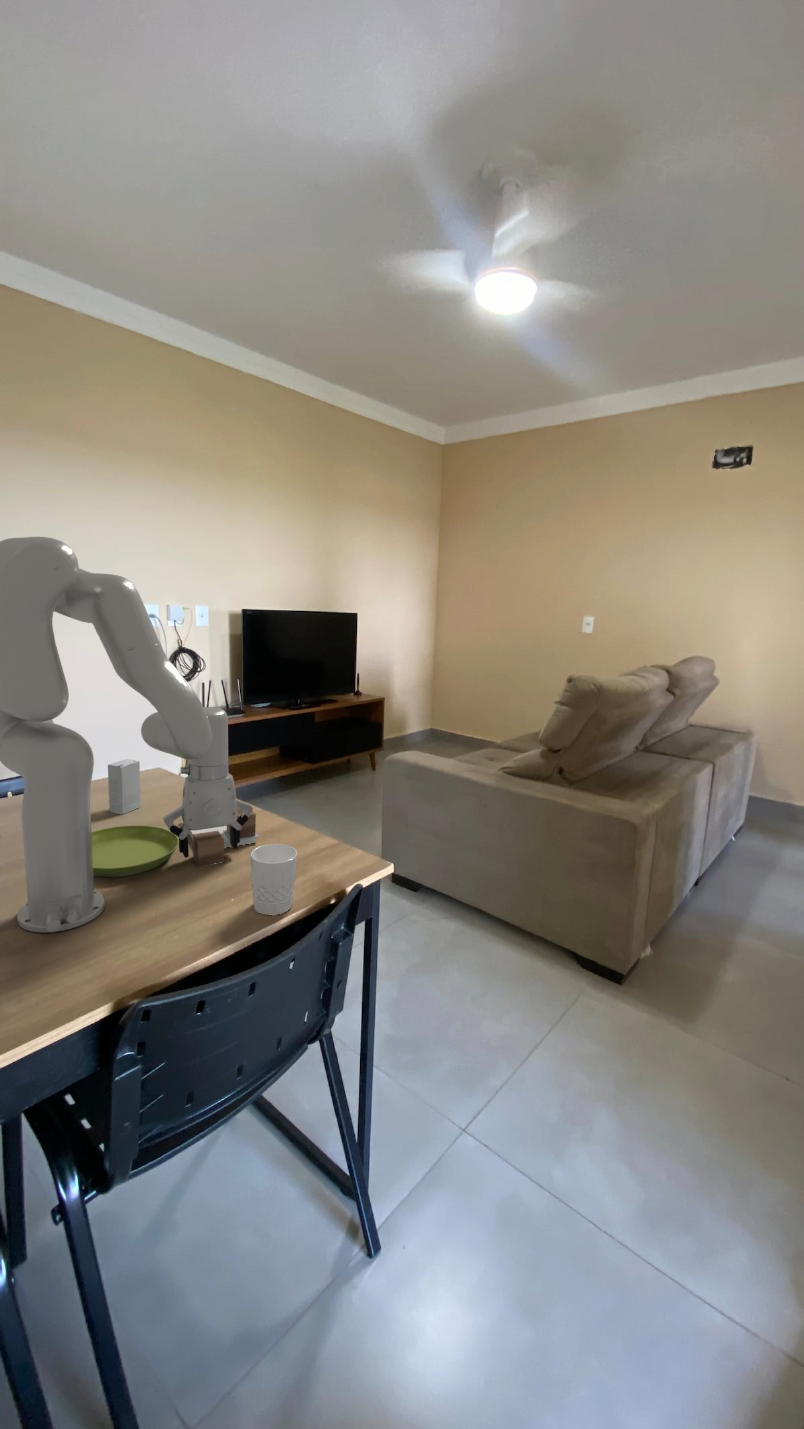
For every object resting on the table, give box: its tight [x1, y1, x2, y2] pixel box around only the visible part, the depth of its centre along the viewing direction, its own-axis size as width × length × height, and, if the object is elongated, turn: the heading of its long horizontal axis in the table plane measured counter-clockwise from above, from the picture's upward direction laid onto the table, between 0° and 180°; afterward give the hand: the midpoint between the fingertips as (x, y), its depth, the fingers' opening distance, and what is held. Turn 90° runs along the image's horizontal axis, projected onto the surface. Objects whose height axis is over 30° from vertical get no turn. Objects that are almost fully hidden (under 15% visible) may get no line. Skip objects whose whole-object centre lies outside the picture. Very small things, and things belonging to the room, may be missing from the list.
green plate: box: [91, 825, 179, 878], centre depth 118 cm, size 21×21×3 cm
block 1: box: [192, 831, 225, 867], centre depth 120 cm, size 5×5×5 cm
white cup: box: [250, 843, 298, 916], centre depth 103 cm, size 8×8×10 cm
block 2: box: [227, 808, 257, 838], centre depth 130 cm, size 5×5×5 cm
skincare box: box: [107, 758, 142, 815], centre depth 143 cm, size 6×4×12 cm
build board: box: [188, 826, 261, 849], centre depth 134 cm, size 18×13×2 cm
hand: (210, 850), depth 120 cm, fingers open, 9 cm apart
